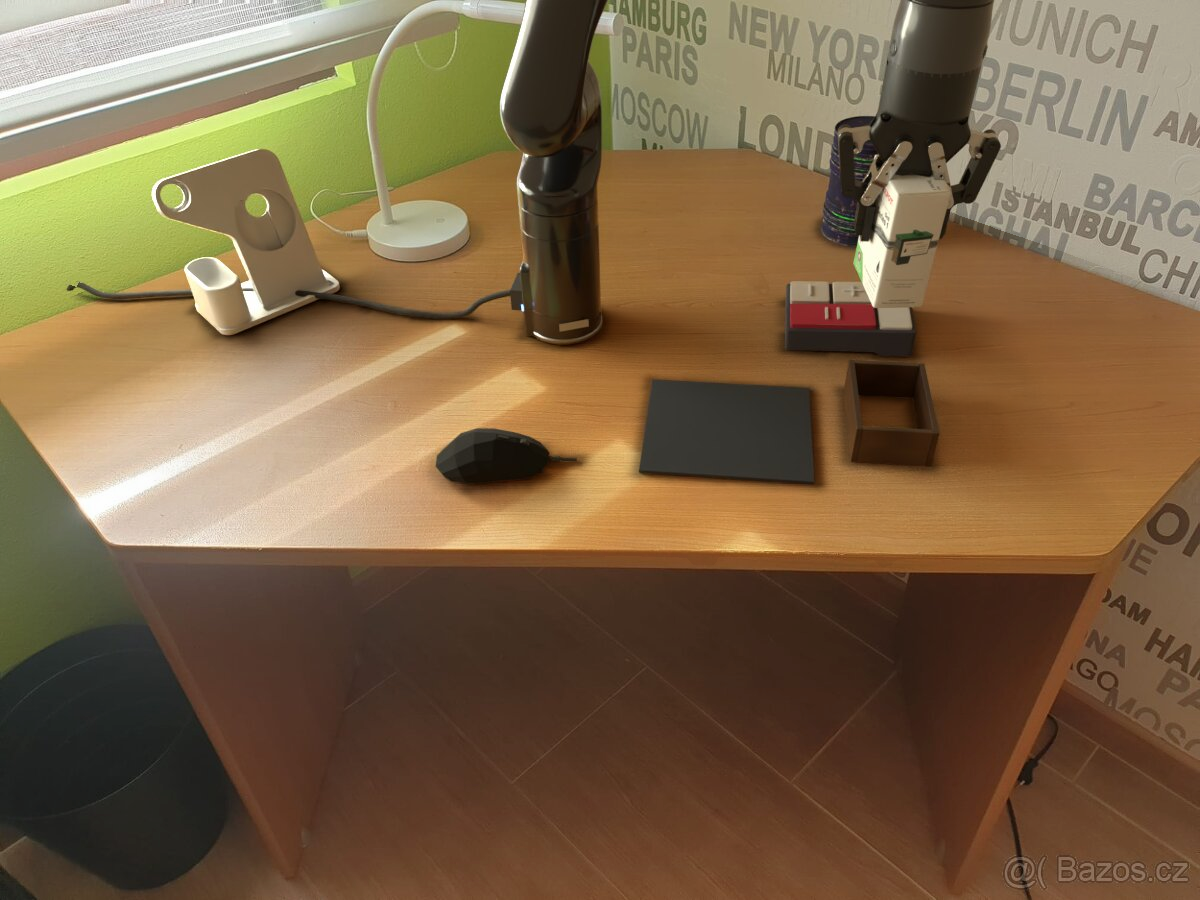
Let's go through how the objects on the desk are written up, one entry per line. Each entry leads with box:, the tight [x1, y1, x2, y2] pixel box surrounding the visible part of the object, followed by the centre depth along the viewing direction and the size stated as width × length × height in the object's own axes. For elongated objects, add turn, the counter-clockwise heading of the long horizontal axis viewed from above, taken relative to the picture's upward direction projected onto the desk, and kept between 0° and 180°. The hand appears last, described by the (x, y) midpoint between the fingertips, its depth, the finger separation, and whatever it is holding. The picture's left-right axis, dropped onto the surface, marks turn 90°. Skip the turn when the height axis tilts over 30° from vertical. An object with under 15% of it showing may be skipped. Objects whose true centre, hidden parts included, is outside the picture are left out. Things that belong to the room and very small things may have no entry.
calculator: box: [784, 280, 917, 358], centre depth 117 cm, size 11×4×15 cm
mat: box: [638, 378, 816, 485], centre depth 104 cm, size 18×16×1 cm
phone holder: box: [151, 148, 341, 336], centre depth 122 cm, size 17×10×18 cm, turn 131°
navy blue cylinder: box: [820, 115, 878, 248], centre depth 133 cm, size 10×10×15 cm
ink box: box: [853, 154, 951, 308], centre depth 89 cm, size 9×5×12 cm, turn 2°
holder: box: [842, 359, 941, 467], centre depth 103 cm, size 8×12×4 cm
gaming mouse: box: [435, 427, 578, 485], centre depth 100 cm, size 6×15×4 cm, turn 93°
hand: (896, 238), depth 89 cm, fingers closed on ink box, 5 cm apart
